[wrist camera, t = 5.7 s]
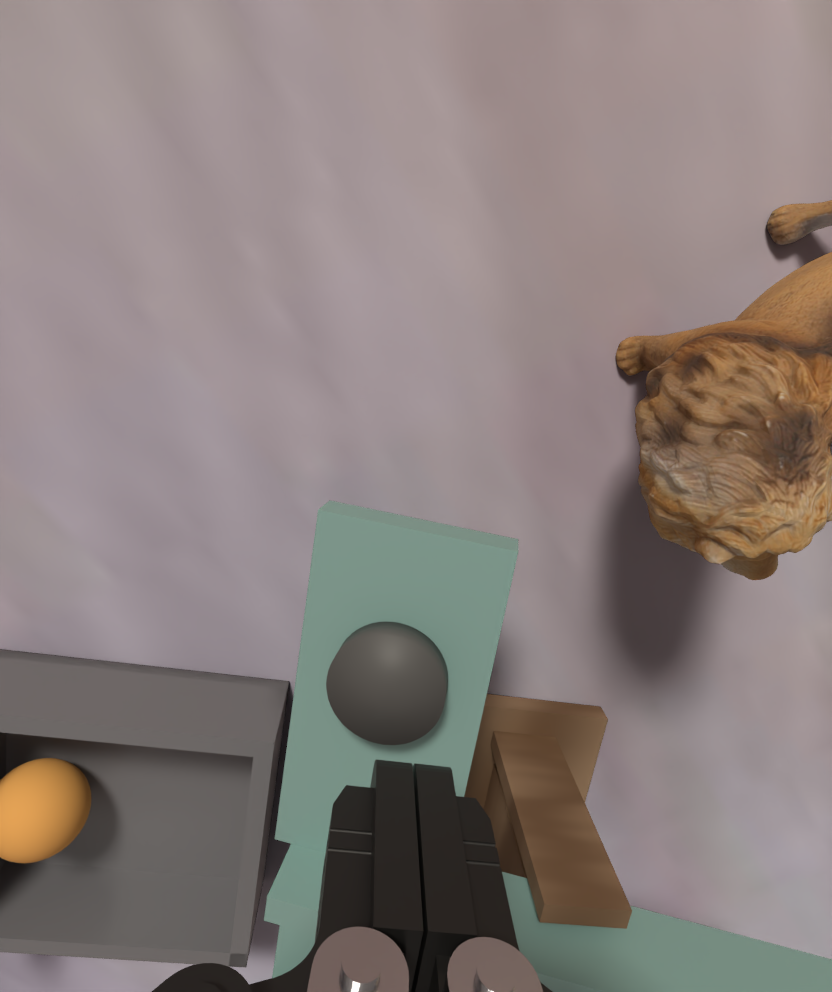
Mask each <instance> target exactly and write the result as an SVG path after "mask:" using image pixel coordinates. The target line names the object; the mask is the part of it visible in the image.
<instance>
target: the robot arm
mask: <svg viewBox="0 0 832 992" xmlns="http://www.w3.org/2000/svg"><path fill="white" fill-rule="evenodd" d="M495 845H496V842H495V838H494V833H493V828H492V824H491V819H490V818H489V817H488V815H487V814H486V812H485V811H484V809H483V808H482V806H481V805H480V804H479V802H478V801H477V799H476V798H470V797H460V796H456V793H455V786H454V780H453V773H452V769H451V767H444V766H435V765H425V764H416V763H414V765H412V763H405V762H395V761H386V760H377V759H376V760H375V763H374V767H373V773H372V779H371V785H370V787H360V786H350V785H346V786H345V787H344V789H343V790H342V792H341V793H340V795H339V796H338V797H337V799H336V800H335V802H334V803H333V807H332V813H331V820H330V827H329V833H328V840H327V846H326V853H325V859H324V866H323V874H322V883H321V891H320V900H319V909H318V918H317V926H316V935H315V944H314V946H313V948H312V949H311V951H310V952H309V954H308V955H307V956H306V958H305V959H304V960H303V961H302V962H301V963H300V964H298V965H297V966H296V967H294V968H293V969H292V970H290V971H288V972H286V973H284V974H283V975H280V976H277V977H275V978H272V979H268V980H264V981H261V982H257V983H253V984H250V985H249V984H248V982H247V981H246V980H245V979H244V977H243V976H242V975H241V974H239V973H238V972H237V971H236V970H234V969H232V968H230V967H228V966H225V965H222V964H216V963H201V964H196V965H192V966H189V967H187V968H184V969H182V970H180V971H178V972H176V973H175V974H173V975H172V976H171V977H169V978H168V979H166V980H165V981H164V982H163V983H162V984H160V985H159V986H158V987H157V988H156V989H154V990H153V991H152V992H553V991H551V990H550V989H548V988H547V987H546V986H545V985H544V984H542V983H541V982H540V980H539V978H538V975H537V973H536V971H535V969H534V968H533V966H532V965H531V963H530V962H529V961H528V959H527V958H526V957H525V956H524V955H523V954H522V953H521V952H520V950H519V947H518V944H517V939H516V935H515V930H514V925H513V921H512V916H511V911H510V907H509V902H508V898H507V893H506V888H505V884H504V879H503V875H502V870H501V868H500V861H499V856H498V851H497V848H496V847H495Z"/></svg>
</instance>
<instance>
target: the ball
mask: <svg viewBox="0 0 832 992" xmlns="http://www.w3.org/2000/svg"><path fill="white" fill-rule="evenodd" d="M90 807H91V790H90V786H89V783H88V780H87V778H86V777H85V775H84V774H83V773H82V771H81V770H80V769H79V768H77V767H76V766H75V765H73V764H72V763H70V762H67V761H65V760H61V759H56V758H42V759H36V760H33V761H29V762H26V763H24V764H22V765H20V766H18V767H16V768H14V769H13V770H12V771H10V772H9V773H7V774H6V775H5V776H4V777H3V778H2V779H1V780H0V857H1V858H2V859H4V860H7V861H10V862H15V863H33V862H38V861H41V860H44V859H47V858H49V857H51V856H53V855H55V854H57V853H58V852H60V851H62V850H63V849H64V848H65V847H67V846H68V845H69V844H70V843H71V842H72V841H73V840H74V839H75V838H76V837H77V835H78V834H79V833H80V831H81V830H82V828H83V827H84V825H85V823H86V820H87V818H88V815H89V812H90Z"/></svg>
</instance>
